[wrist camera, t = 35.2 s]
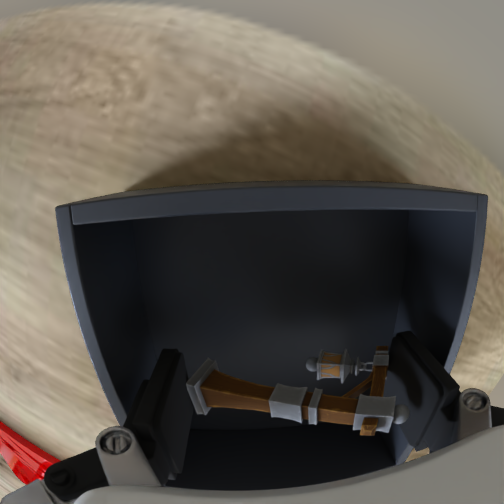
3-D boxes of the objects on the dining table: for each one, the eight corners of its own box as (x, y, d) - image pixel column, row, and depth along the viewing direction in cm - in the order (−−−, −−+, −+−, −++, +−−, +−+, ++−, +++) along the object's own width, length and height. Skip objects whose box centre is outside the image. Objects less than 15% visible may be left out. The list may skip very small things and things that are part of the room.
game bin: (413, 183, 11) (488, 195, 7) (375, 411, 15) (401, 466, 10) (121, 192, 11) (54, 206, 6) (171, 427, 15) (157, 489, 10)
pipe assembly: (404, 366, 11) (403, 447, 7) (241, 356, 14) (195, 417, 10) (409, 333, 10) (415, 415, 6) (234, 327, 13) (182, 387, 9)
